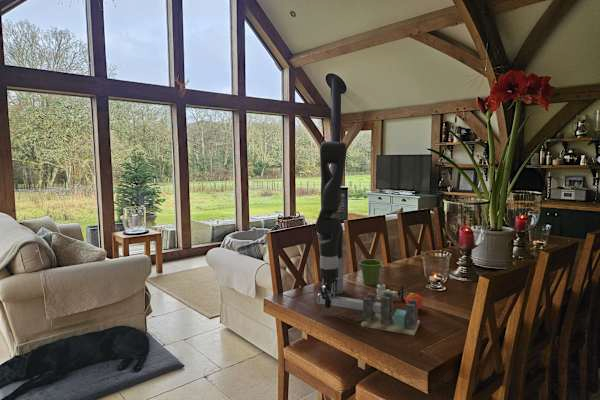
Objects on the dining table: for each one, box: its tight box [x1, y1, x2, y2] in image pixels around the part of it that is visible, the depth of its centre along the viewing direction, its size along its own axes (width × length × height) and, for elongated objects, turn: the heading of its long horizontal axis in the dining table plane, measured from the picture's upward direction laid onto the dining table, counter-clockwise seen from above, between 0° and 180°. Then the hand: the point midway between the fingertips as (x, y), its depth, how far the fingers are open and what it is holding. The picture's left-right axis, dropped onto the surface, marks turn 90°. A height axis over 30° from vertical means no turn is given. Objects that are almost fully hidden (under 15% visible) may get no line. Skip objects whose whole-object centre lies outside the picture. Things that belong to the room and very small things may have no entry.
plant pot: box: [358, 258, 383, 286], centre depth 200 cm, size 12×12×11 cm
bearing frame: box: [360, 292, 421, 336], centre depth 151 cm, size 20×12×12 cm, turn 64°
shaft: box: [315, 292, 381, 314], centre depth 158 cm, size 30×4×4 cm, turn 64°
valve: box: [375, 283, 405, 301], centre depth 178 cm, size 7×7×12 cm
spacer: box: [393, 308, 406, 327], centre depth 149 cm, size 4×5×4 cm
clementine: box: [404, 292, 424, 310], centre depth 166 cm, size 8×7×7 cm
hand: (329, 306), depth 162 cm, fingers closed on shaft, 3 cm apart
